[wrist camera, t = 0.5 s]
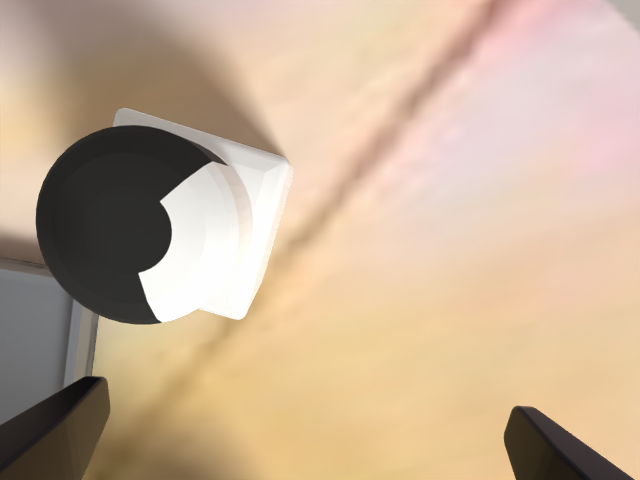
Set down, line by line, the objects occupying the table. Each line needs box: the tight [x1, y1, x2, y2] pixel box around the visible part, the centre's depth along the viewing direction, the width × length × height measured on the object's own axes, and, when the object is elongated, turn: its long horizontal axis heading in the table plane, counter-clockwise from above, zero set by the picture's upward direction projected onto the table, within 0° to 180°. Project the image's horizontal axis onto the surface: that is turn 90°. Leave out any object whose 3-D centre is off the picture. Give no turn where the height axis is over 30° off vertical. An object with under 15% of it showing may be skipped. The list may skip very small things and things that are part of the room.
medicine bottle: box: [36, 108, 294, 324], centre depth 17 cm, size 7×7×12 cm
